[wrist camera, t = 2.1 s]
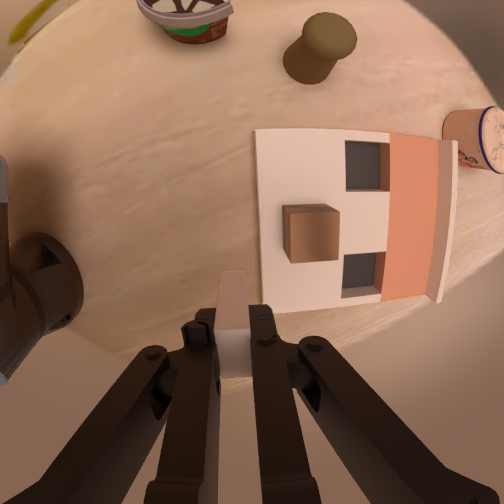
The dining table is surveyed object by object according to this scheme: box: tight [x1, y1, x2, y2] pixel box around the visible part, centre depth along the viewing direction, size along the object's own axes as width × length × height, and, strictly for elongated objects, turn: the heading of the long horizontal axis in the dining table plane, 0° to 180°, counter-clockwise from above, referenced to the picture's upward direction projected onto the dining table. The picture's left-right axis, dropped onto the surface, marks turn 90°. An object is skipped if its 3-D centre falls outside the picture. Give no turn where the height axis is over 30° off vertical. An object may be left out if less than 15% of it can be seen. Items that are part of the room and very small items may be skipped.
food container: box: [137, 0, 234, 44], centre depth 22 cm, size 12×6×10 cm, turn 42°
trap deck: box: [254, 128, 458, 314], centre depth 33 cm, size 25×22×6 cm
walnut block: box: [282, 203, 340, 264], centre depth 30 cm, size 5×5×5 cm
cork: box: [283, 12, 357, 84], centre depth 24 cm, size 6×6×11 cm
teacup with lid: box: [443, 106, 504, 174], centre depth 27 cm, size 12×9×12 cm
